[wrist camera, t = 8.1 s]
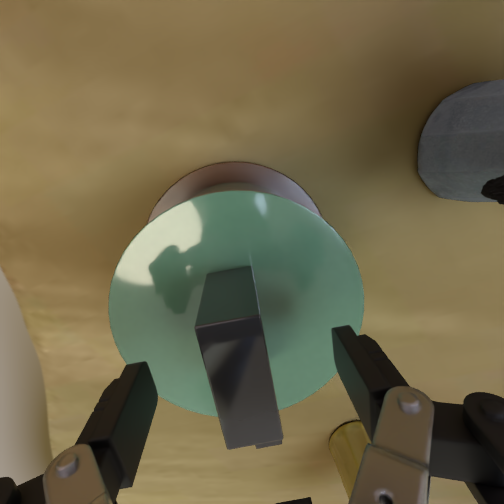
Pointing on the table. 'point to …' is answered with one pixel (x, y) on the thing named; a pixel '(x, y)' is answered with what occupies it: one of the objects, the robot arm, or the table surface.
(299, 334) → the pot
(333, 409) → the table surface
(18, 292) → the table surface
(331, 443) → the vase
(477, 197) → the moka pot
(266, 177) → the trivet
